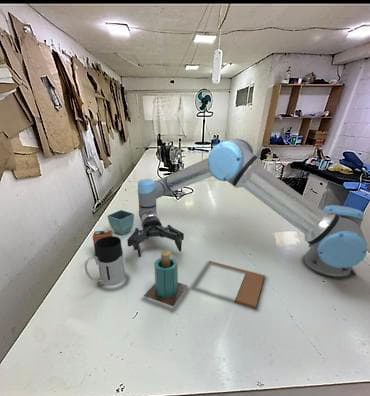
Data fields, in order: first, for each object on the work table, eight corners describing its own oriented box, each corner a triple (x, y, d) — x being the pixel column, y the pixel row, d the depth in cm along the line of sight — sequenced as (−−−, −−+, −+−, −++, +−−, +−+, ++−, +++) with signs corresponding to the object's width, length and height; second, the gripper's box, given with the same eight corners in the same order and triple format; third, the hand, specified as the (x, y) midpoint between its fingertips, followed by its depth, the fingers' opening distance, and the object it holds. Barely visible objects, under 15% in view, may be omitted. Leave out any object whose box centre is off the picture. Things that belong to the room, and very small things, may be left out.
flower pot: (122, 238, 106) (120, 220, 103) (108, 233, 111) (106, 215, 107) (135, 230, 113) (134, 213, 109) (122, 226, 117) (121, 209, 114)
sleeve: (180, 287, 74) (180, 260, 70) (170, 300, 69) (170, 272, 65) (162, 281, 76) (162, 255, 72) (152, 293, 71) (150, 266, 67)
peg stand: (188, 289, 75) (188, 248, 69) (173, 310, 67) (172, 266, 61) (161, 280, 79) (159, 241, 73) (144, 299, 71) (140, 257, 65)
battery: (113, 255, 93) (110, 232, 89) (95, 256, 92) (91, 234, 88) (114, 249, 97) (111, 227, 93) (97, 250, 96) (93, 228, 92)
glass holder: (132, 277, 81) (128, 238, 74) (102, 304, 69) (95, 261, 63) (112, 270, 84) (107, 233, 78) (81, 295, 72) (71, 253, 66)
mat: (264, 277, 81) (264, 275, 81) (255, 308, 68) (256, 306, 68) (209, 263, 89) (209, 260, 89) (192, 288, 76) (192, 286, 75)
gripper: (180, 229, 101) (196, 255, 82) (120, 235, 94) (122, 265, 76) (180, 212, 98) (196, 236, 79) (118, 218, 91) (120, 245, 73)
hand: (160, 250), depth 77 cm, fingers open, 13 cm apart
